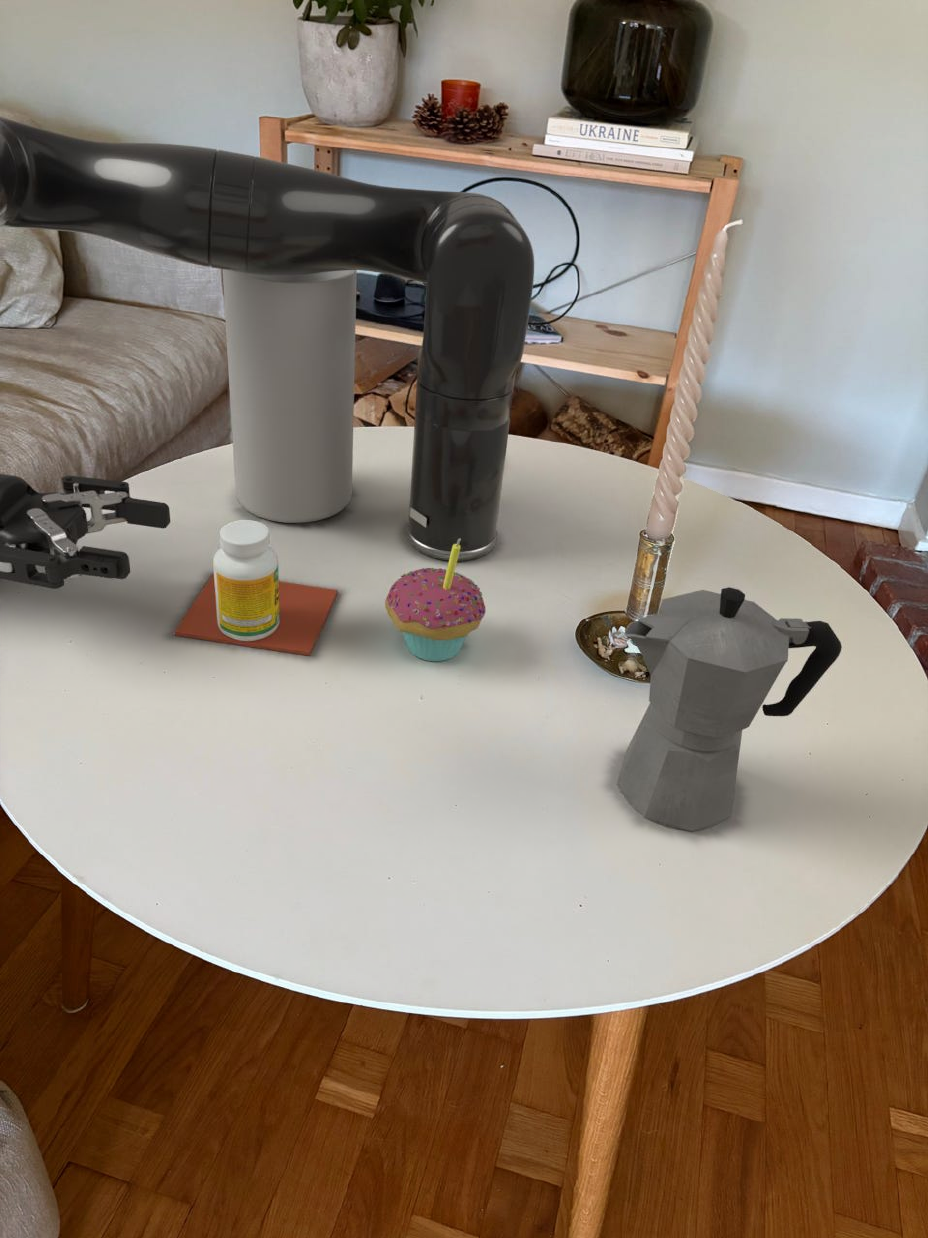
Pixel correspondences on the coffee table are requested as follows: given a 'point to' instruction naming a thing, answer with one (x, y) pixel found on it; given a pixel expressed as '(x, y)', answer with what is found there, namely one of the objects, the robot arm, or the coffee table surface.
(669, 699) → the coffeepot
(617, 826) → the coffee table surface
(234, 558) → the supplement bottle
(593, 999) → the coffee table surface
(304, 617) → the square tile
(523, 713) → the coffee table surface
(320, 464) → the cylinder vase
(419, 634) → the cupcake
